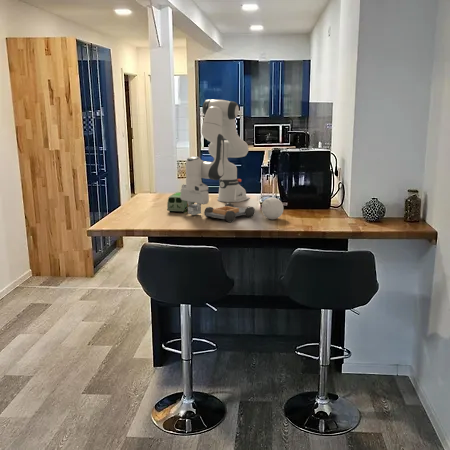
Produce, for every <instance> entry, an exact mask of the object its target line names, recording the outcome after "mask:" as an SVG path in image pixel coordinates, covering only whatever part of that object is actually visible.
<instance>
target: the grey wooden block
mask: <svg viewBox="0 0 450 450" xmlns="http://www.w3.org/2000/svg"><path fill="white" fill-rule="evenodd" d="M197 206H198V205H197V203H194V204H193V205H189V207H188V209H187V215H191V216H195V215H200V214H202V206H201V207H200V211H196V208H197Z"/></svg>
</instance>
